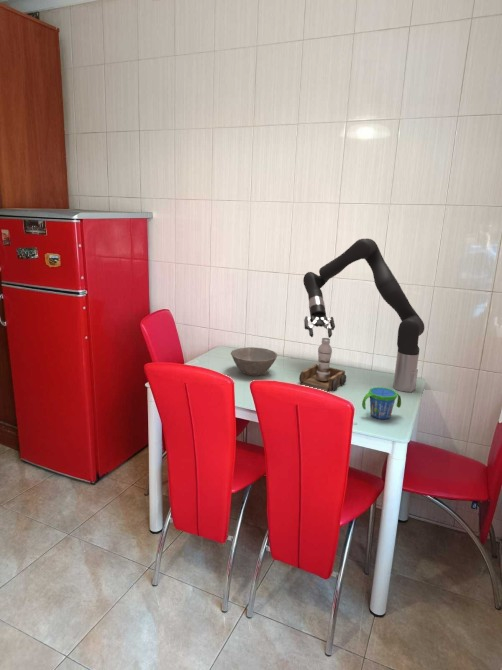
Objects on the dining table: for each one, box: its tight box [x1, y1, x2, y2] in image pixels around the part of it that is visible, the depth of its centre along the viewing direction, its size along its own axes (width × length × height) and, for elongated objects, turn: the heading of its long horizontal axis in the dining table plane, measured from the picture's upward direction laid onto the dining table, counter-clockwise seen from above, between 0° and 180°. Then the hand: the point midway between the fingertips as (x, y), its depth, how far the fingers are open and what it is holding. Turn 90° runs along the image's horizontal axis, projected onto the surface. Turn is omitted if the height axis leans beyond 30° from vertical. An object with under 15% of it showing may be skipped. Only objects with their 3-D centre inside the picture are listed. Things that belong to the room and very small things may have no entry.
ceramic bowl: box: [230, 346, 278, 377], centre depth 225 cm, size 22×23×10 cm
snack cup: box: [361, 386, 402, 420], centre depth 181 cm, size 16×10×10 cm
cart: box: [298, 363, 347, 393], centre depth 213 cm, size 20×17×6 cm
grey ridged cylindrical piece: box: [316, 337, 333, 381], centre depth 212 cm, size 6×7×20 cm
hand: (321, 336), depth 217 cm, fingers open, 8 cm apart
